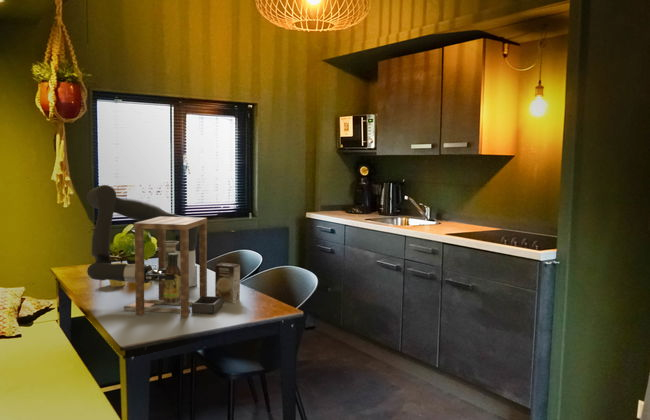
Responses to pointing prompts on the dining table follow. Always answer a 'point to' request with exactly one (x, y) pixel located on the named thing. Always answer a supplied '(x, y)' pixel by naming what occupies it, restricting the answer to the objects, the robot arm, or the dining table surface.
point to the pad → (144, 304)
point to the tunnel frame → (162, 225)
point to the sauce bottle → (172, 285)
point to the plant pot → (117, 283)
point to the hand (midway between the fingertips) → (177, 275)
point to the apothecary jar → (170, 249)
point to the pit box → (207, 305)
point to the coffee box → (227, 282)
